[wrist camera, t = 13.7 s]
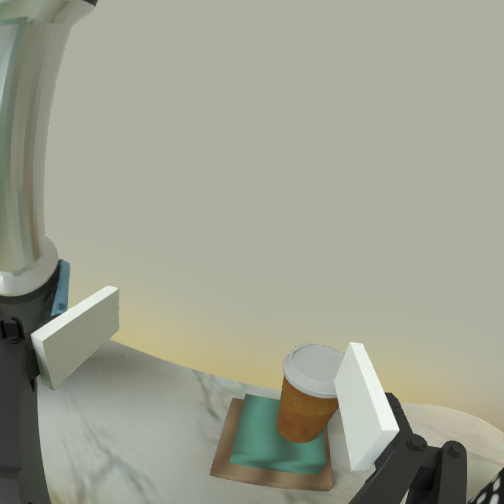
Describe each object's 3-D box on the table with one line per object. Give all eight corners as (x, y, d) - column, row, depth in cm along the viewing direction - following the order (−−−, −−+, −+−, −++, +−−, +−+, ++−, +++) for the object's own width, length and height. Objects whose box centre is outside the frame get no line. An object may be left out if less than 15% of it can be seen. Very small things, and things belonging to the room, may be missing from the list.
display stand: (209, 475, 27) (213, 457, 26) (231, 403, 43) (235, 383, 42) (328, 490, 26) (342, 474, 25) (322, 418, 42) (331, 399, 41)
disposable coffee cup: (257, 442, 30) (279, 374, 28) (271, 400, 39) (290, 335, 37) (328, 457, 28) (364, 392, 26) (330, 413, 37) (357, 350, 35)
